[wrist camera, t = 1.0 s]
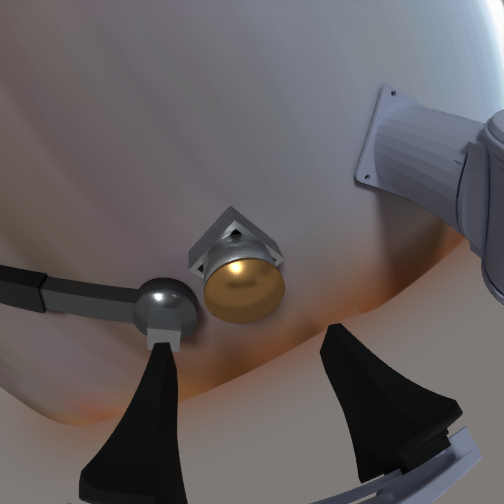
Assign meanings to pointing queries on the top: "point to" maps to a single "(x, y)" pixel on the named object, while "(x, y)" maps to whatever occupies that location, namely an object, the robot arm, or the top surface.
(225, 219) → the socket
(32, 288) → the ratchet
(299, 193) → the top surface
